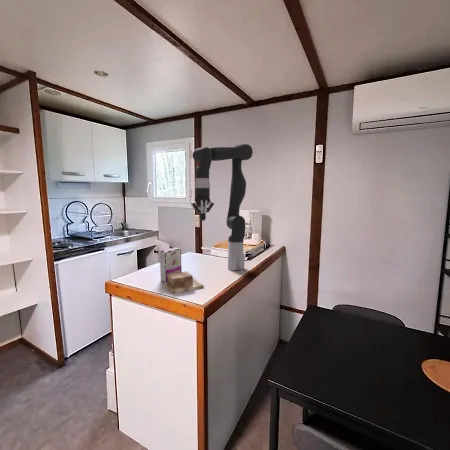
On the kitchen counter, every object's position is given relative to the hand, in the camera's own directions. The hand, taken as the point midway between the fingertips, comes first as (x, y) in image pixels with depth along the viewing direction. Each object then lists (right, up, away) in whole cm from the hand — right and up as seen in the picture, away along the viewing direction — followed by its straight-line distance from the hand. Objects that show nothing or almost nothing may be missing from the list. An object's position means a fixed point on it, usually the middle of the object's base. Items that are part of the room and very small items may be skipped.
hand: (202, 220), depth 135 cm
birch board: (-9, -33, -8) cm, 35 cm away
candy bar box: (-17, -32, +3) cm, 36 cm away
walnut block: (-6, -29, -7) cm, 30 cm away
